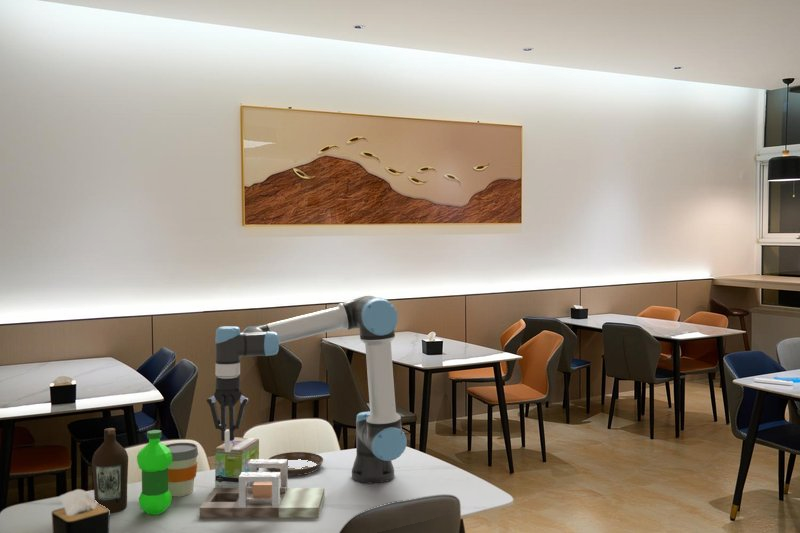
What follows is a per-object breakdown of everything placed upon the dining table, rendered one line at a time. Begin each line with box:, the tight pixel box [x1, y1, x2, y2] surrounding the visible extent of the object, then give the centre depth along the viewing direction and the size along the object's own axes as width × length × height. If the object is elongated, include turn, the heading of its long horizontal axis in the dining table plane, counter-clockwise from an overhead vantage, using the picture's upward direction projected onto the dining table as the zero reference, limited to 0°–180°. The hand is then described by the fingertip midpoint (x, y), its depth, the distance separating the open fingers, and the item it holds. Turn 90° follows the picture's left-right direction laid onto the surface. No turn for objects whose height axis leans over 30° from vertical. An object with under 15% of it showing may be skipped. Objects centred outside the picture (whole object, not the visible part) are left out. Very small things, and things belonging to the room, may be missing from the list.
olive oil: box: [91, 427, 129, 514], centre depth 237 cm, size 11×11×25 cm
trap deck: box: [199, 487, 325, 519], centre depth 238 cm, size 36×18×3 cm, turn 90°
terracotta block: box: [253, 482, 272, 498], centre depth 238 cm, size 6×6×5 cm
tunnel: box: [239, 458, 289, 508], centre depth 238 cm, size 12×18×10 cm, turn 0°
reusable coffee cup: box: [164, 442, 199, 497], centre depth 252 cm, size 13×12×15 cm
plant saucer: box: [268, 451, 324, 476], centre depth 278 cm, size 21×21×3 cm
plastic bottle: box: [136, 429, 173, 516], centre depth 234 cm, size 10×10×25 cm
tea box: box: [214, 436, 260, 488], centre depth 259 cm, size 15×10×15 cm, turn 168°
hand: (228, 450), depth 238 cm, fingers closed
